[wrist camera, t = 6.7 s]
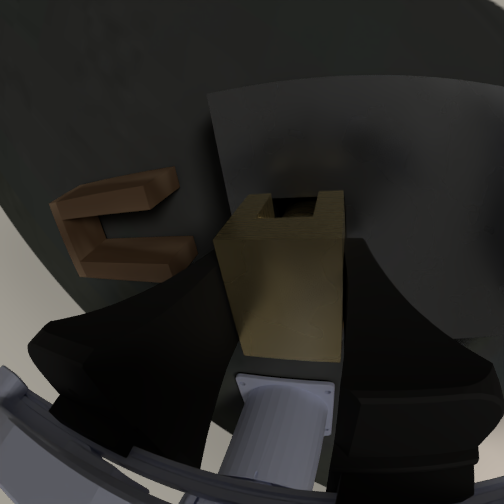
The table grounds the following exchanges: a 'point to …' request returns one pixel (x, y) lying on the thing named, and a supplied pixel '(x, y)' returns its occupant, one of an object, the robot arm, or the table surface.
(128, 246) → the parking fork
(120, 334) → the robot arm
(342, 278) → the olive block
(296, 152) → the dark grey l-shaped block
